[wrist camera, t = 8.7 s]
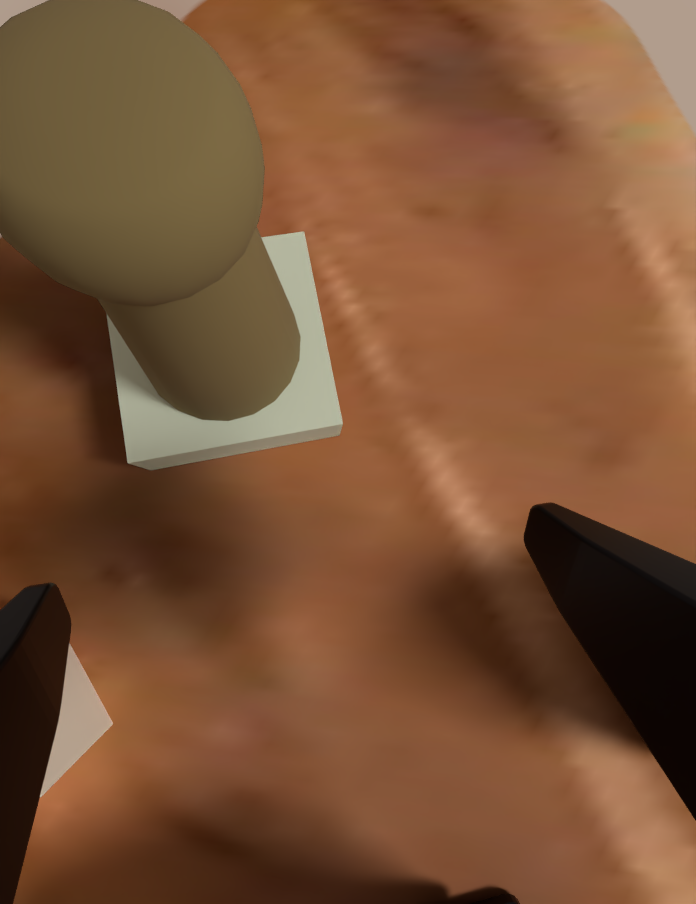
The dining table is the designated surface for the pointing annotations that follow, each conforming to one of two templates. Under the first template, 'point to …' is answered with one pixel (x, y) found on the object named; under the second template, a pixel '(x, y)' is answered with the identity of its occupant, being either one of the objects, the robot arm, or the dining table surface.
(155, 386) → the cork
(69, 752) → the brick
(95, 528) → the dining table surface
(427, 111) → the dining table surface
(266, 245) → the base brick
